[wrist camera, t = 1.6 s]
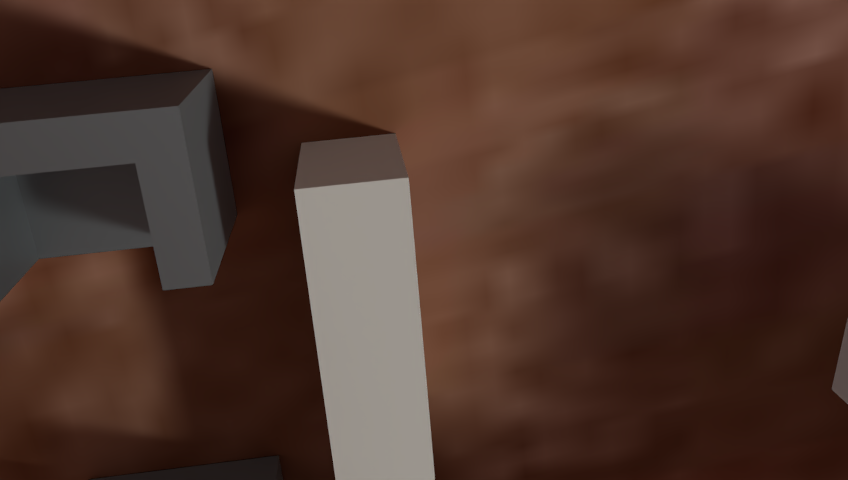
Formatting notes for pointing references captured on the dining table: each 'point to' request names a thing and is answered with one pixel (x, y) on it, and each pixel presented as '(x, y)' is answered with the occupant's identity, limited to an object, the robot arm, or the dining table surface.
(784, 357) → the dining table surface
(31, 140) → the endcap rack
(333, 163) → the light grey long block
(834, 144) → the dining table surface
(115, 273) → the dining table surface
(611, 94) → the dining table surface
